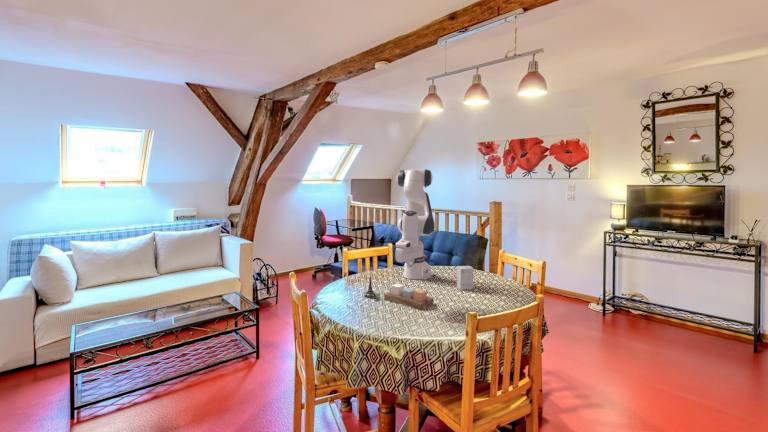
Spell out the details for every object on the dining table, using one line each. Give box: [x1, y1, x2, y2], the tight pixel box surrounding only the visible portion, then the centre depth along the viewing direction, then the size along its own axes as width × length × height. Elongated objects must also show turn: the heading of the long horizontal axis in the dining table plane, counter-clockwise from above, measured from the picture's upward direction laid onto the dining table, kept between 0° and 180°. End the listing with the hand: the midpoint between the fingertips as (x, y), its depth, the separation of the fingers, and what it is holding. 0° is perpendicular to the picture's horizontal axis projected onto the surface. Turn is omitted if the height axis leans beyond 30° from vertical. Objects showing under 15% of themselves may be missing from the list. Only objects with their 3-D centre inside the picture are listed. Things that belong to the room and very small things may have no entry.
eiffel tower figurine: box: [363, 275, 381, 302], centre depth 222 cm, size 15×10×13 cm
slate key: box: [402, 287, 416, 299], centre depth 215 cm, size 5×5×5 cm
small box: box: [456, 265, 474, 291], centre depth 238 cm, size 8×6×13 cm
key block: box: [383, 291, 434, 311], centre depth 215 cm, size 12×24×3 cm, turn 50°
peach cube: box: [413, 288, 428, 302], centre depth 210 cm, size 5×5×5 cm
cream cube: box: [390, 283, 405, 296], centre depth 220 cm, size 5×5×5 cm
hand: (409, 267), depth 213 cm, fingers closed
